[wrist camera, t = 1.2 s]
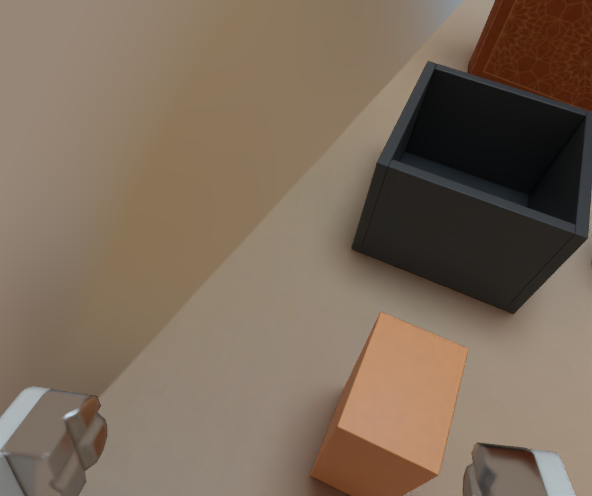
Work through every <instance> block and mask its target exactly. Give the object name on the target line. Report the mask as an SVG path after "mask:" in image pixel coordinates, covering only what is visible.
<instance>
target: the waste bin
mask: <svg viewBox="0 0 592 496" xmlns="http://www.w3.org/2000/svg"><path fill="white" fill-rule="evenodd" d="M591 190H592V112H591V111H586V110H584V109H581V108H578V107H575V106H572V105H568V104H565V103H562V102H559V101H555V100H552V99H549V98H546V97H543V96H539V95H536V94H533V93H530V92H526V91H523V90H520V89H517V88H514V87H510V86H507V85H504V84H501V83H497V82H494V81H491V80H488V79H485V78H481V77H478V76H475V75H472V74H468V73H465V72H462V71H459V70H456V69H452V68H449V67H446V66H443V65H439V64H436V63H433V62H430V61H428V62H427V64H426V66H425V68H424V70H423V72H422V74H421V76H420V78H419V80H418V82H417V84H416V86H415V88H414V90H413V92H412V94H411V96H410V98H409V100H408V102H407V104H406V106H405V108H404V110H403V112H402V114H401V116H400V118H399V120H398V122H397V124H396V126H395V128H394V130H393V132H392V134H391V136H390V138H389V140H388V142H387V144H386V146H385V148H384V150H383V152H382V154H381V156H380V158H379V160H378V162H377V164H376V168H375V171H374V174H373V178H372V181H371V184H370V188H369V191H368V194H367V198H366V201H365V204H364V208H363V211H362V214H361V218H360V221H359V224H358V228H357V231H356V235H355V238H354V241H353V244H352V249H354V250H356V251H359V252H361V253H364V254H366V255H369V256H371V257H374V258H376V259H379V260H381V261H384V262H386V263H389V264H391V265H394V266H396V267H399V268H401V269H404V270H406V271H409V272H411V273H414V274H416V275H419V276H421V277H424V278H426V279H429V280H431V281H434V282H436V283H439V284H441V285H444V286H446V287H449V288H451V289H454V290H456V291H459V292H461V293H464V294H466V295H469V296H471V297H474V298H476V299H479V300H481V301H484V302H486V303H489V304H491V305H494V306H496V307H499V308H501V309H504V310H506V311H509V312H511V313H515V312H516V311H517V310H518V309H519V308H520V307H521V306H522V305H523V304H524V303H525V302H526V301H527V300H528V299H529V298H530V297H531V296H532V295H533V294H534V293H535V292H536V291H537V290H538V289H539V288H540V287H541V286H542V285H543V284H544V283H545V282H546V280H547V279H548V278H549V277H550V276H551V275H552V274H553V273H554V272H555V271H556V270H557V269H558V268H559V267H560V266H561V265H562V264H563V263H564V262H565V261H566V260H567V259H568V258H569V257H570V256H571V255H572V254H573V253H574V252H575V251H576V250H577V249H578V248H579V247H580V246H581V245H582V244H583V243H584V242H585V241H586V240H587V239H588V231H589V217H590V204H591Z"/></svg>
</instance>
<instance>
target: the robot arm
mask: <svg viewBox="0 0 592 496" xmlns="http://www.w3.org/2000/svg"><path fill="white" fill-rule="evenodd" d="M100 407H101V404H100V402H99V399H98V396H95V395H88V394H81V393H75V392H67V391H61V390H54V389H47V388H40V387H33V386H30V387H28V388H26V389H25V390H23V391H22V392H21V393H20V394H19V395H18V397H17V398H16V399H15V400H14V402H13V403H12V404H11V405H10V406H9V408H8V409H7V410H6V411H5V412H4V414H3V415H2V416H1V418H0V496H79V494H80V492H81V490H82V489H83V487H84V485H85V483H86V475H85V471H86V470H87V469H88V468H90V467H91V466H93V465H94V464H95V463H97V461H98V459H99V457H100V456H101V454H102V452H103V450H104V446H105V442H106V439H107V424H106V420H105V419H104V418H103V417H102V416H101V415H100V414H99V413H98V410H99V408H100ZM471 454H472V459H473V463H472V464H470V465H468V466H467V467H466V470H465V474H464V478H463V496H576V494H575V492H574V489H573V487H572V484H571V482H570V479H569V477H568V474H567V472H566V469H565V467H564V464H563V462H562V459H561V457H560V456H559V455H558V454H557V453H556V452H551V451H542V450H533V449H527V448H523V447H514V446H504V445H495V444H486V443H476V444H475V445H474V447H473V450H472V453H471Z"/></svg>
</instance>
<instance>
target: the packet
mask: <svg viewBox="0 0 592 496" xmlns="http://www.w3.org/2000/svg"><path fill="white" fill-rule="evenodd" d="M467 353H468V348H466V347H464V346H461V345H459V344H456V343H454V342H452V341H449V340H447V339H445V338H442V337H440V336H437V335H435V334H433V333H430V332H428V331H426V330H423V329H421V328H418V327H416V326H414V325H411V324H409V323H407V322H404V321H402V320H399V319H397V318H395V317H392V316H390V315H388V314H385V313H383V312H380V314H379V316H378V318H377V320H376V322H375V324H374V327H373V329H372V331H371V333H370V335H369V337H368V339H367V341H366V343H365V345H364V347H363V350H362V352H361V354H360V356H359V358H358V360H357V362H356V364H355V366H354V368H353V371H352V373H351V375H350V377H349V379H348V381H347V383H346V385H345V387H344V390H343V392H342V395H341V397H340V400H339V402H338V405H337V408H336V410H335V413H334V415H333V418H332V420H331V423H330V425H329V428H328V431H327V433H326V436H325V438H324V441H323V443H322V446H321V448H320V451H319V454H318V456H317V459H316V461H315V464H314V466H313V469H312V471H311V474H310V475H311V476H312V477H314V478H316V479H318V480H320V481H322V482H324V483H326V484H328V485H330V486H332V487H334V488H336V489H338V490H340V491H342V492H344V493H346V494H348V495H350V496H403V495H404V494H406V493H408V492H410V491H412V490H413V489H415V488H417V487H419V486H420V485H422V484H424V483H426V482H427V481H429V480H431V479H433V478H435V477H436V476H438V475H439V473H440V469H441V464H442V460H443V456H444V452H445V447H446V443H447V439H448V434H449V430H450V426H451V422H452V417H453V413H454V409H455V405H456V400H457V396H458V392H459V388H460V383H461V379H462V375H463V370H464V366H465V362H466V358H467Z"/></svg>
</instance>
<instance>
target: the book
mask: <svg viewBox="0 0 592 496" xmlns="http://www.w3.org/2000/svg"><path fill="white" fill-rule="evenodd" d="M468 74H472V75H475V76H478V77H481V78H485V79H488V80H491V81H494V82H497V83H501V84H504V85H507V86H510V87H514V88H517V89H520V90H523V91H526V92H530V93H533V94H536V95H539V96H543V97H546V98H549V99H552V100H555V101H559V102H562V103H565V104H568V105H572V106H575V107H578V108H581V109H584V110H586V111H591V112H592V0H495V2H494V5H493V7H492V10H491V12H490V14H489V17H488V19H487V22H486V24H485V26H484V29H483V31H482V33H481V36H480V38H479V41H478V43H477V45H476V48H475V50H474V53H473V55H472V57H471V60H470V62H469V65H468Z"/></svg>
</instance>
